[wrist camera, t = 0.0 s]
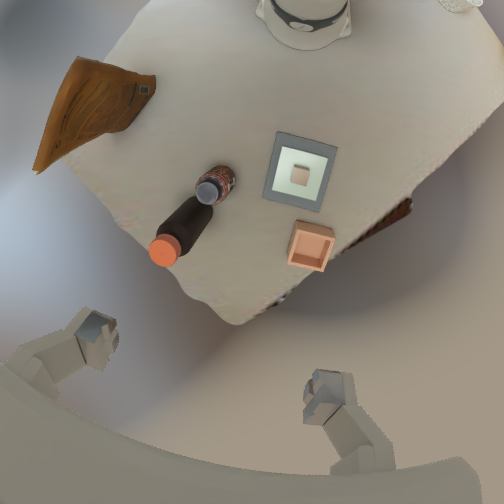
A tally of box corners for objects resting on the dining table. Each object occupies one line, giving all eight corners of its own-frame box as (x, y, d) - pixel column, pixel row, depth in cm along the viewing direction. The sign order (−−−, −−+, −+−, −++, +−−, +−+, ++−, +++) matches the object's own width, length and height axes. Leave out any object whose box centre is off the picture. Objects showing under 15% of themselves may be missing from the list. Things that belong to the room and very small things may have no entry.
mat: (277, 131, 49) (277, 131, 49) (336, 147, 49) (337, 147, 49) (262, 197, 56) (262, 198, 56) (318, 211, 56) (318, 212, 55)
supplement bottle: (240, 172, 54) (230, 186, 44) (228, 197, 57) (216, 216, 47) (214, 160, 53) (197, 171, 43) (203, 185, 56) (185, 201, 46)
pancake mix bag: (173, 82, 46) (87, 66, 22) (121, 148, 54) (30, 181, 29) (152, 65, 44) (62, 45, 20) (103, 131, 52) (11, 156, 27)
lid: (282, 145, 50) (282, 147, 47) (327, 157, 50) (330, 160, 47) (272, 188, 54) (271, 193, 51) (315, 199, 54) (317, 205, 51)
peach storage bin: (296, 219, 57) (297, 229, 53) (331, 228, 57) (335, 238, 53) (286, 252, 61) (286, 263, 57) (320, 260, 61) (323, 272, 57)
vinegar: (208, 192, 57) (174, 230, 39) (216, 222, 60) (187, 270, 42) (180, 198, 58) (137, 237, 41) (188, 226, 61) (151, 274, 44)
